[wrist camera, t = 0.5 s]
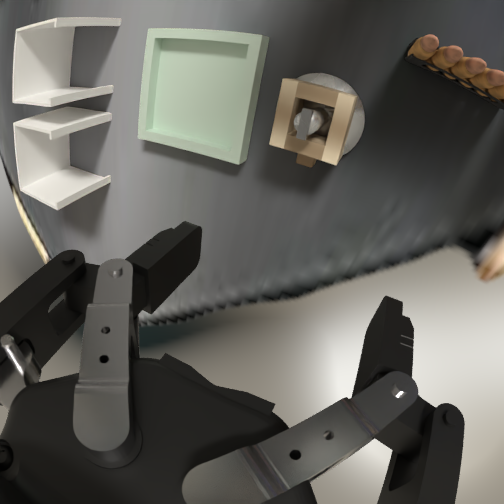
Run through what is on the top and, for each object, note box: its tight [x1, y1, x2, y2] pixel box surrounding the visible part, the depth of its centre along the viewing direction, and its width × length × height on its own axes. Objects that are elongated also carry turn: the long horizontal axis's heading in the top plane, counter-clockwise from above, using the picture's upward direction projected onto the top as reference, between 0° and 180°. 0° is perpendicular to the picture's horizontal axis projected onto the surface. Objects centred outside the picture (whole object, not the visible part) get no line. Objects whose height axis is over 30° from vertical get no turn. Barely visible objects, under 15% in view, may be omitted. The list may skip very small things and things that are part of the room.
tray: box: [138, 28, 269, 165], centre depth 32 cm, size 14×14×2 cm
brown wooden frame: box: [269, 78, 358, 168], centre depth 28 cm, size 8×6×4 cm
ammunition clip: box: [405, 34, 504, 109], centre depth 17 cm, size 11×2×12 cm, turn 75°
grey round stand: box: [276, 73, 365, 160], centre depth 27 cm, size 9×9×7 cm
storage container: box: [13, 17, 121, 210], centre depth 35 cm, size 25×11×11 cm, turn 167°
